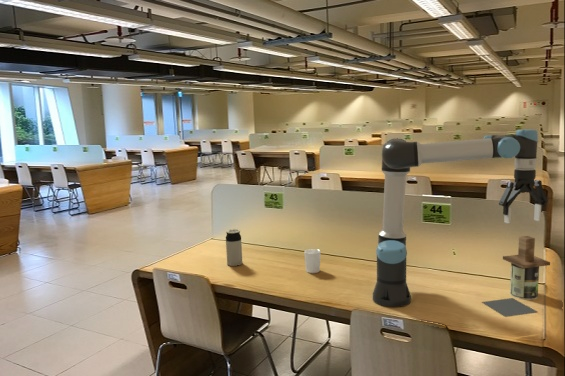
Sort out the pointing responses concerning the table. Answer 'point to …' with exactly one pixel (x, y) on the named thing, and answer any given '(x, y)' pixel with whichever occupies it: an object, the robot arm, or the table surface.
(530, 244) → the lid
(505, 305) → the mat
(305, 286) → the table surface
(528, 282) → the coffee can
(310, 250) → the white cup
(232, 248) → the travel mug
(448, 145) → the robot arm
